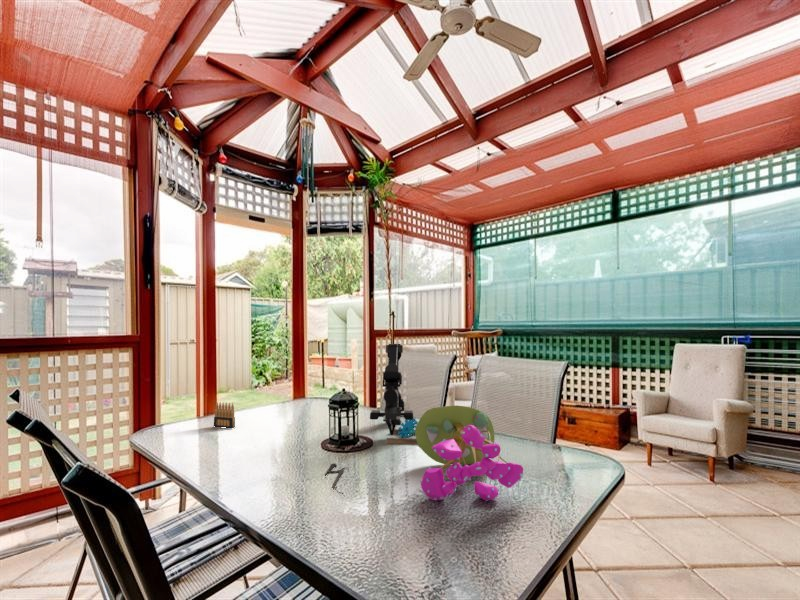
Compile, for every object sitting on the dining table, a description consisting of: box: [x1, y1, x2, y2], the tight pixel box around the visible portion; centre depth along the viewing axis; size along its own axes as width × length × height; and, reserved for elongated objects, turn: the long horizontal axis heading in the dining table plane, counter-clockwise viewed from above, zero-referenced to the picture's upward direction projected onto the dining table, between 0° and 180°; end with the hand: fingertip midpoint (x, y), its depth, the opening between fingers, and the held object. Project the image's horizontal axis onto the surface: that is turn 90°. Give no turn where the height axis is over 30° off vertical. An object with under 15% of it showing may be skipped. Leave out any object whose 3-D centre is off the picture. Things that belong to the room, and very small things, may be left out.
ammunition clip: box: [213, 401, 236, 429], centre depth 179 cm, size 11×2×12 cm, turn 75°
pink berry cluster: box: [414, 405, 524, 502], centre depth 115 cm, size 30×28×35 cm
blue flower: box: [397, 418, 419, 438], centre depth 165 cm, size 11×6×10 cm
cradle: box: [386, 428, 418, 445], centre depth 162 cm, size 14×20×3 cm
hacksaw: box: [324, 462, 348, 495], centre depth 119 cm, size 24×10×2 cm, turn 174°
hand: (391, 435), depth 162 cm, fingers closed
